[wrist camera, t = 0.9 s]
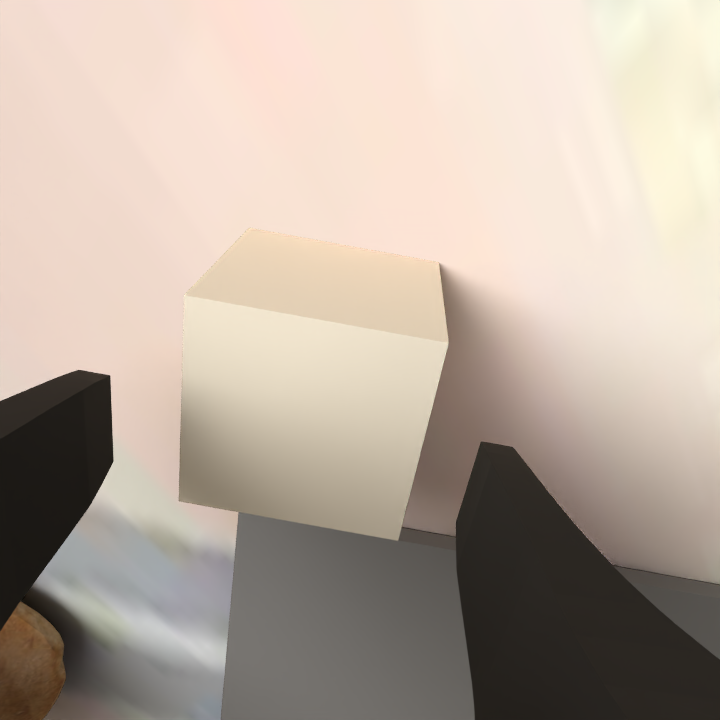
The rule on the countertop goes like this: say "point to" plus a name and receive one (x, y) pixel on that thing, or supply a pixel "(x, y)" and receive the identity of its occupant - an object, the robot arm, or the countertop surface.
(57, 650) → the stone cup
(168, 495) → the countertop surface
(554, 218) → the countertop surface
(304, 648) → the charcoal mat
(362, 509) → the cream cube
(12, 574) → the robot arm
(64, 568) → the countertop surface
